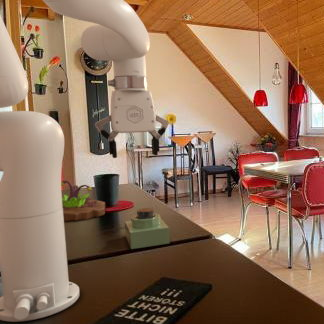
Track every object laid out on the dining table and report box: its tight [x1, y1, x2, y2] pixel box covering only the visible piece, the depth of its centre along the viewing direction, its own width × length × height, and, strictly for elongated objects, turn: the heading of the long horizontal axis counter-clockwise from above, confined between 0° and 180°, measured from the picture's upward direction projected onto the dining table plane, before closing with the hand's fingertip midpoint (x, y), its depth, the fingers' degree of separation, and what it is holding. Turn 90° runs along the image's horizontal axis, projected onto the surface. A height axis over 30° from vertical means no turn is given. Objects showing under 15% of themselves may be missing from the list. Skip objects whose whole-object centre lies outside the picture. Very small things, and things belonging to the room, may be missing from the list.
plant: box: [61, 180, 106, 222], centre depth 125 cm, size 20×20×11 cm
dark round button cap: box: [136, 207, 155, 219], centre depth 96 cm, size 4×4×2 cm
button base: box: [124, 212, 171, 250], centre depth 96 cm, size 11×9×6 cm
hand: (135, 156), depth 95 cm, fingers open, 9 cm apart
